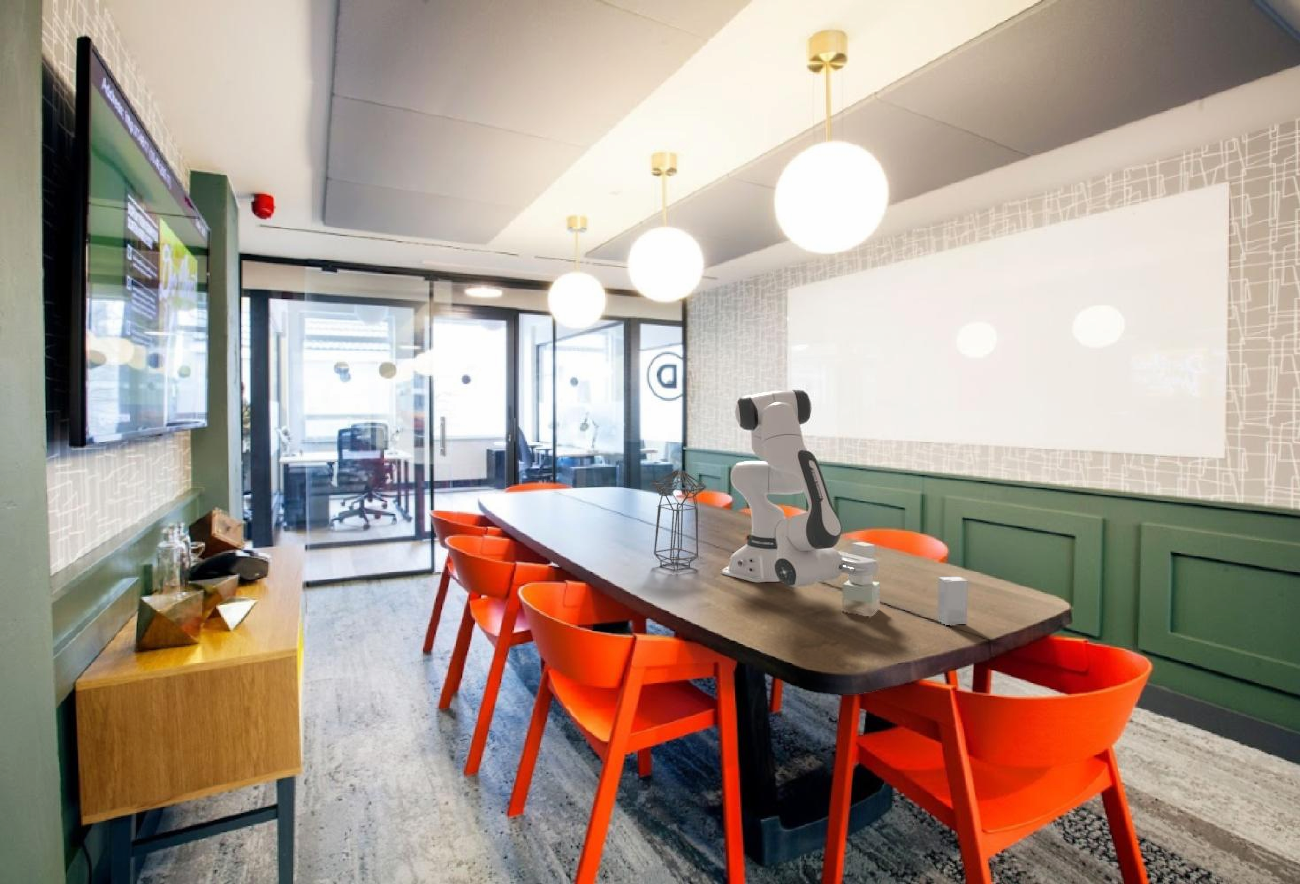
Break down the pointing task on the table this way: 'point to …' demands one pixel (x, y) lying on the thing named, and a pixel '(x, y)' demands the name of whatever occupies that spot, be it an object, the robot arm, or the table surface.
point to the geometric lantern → (658, 485)
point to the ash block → (860, 607)
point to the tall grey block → (863, 551)
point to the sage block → (861, 592)
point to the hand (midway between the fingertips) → (858, 557)
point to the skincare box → (952, 600)
